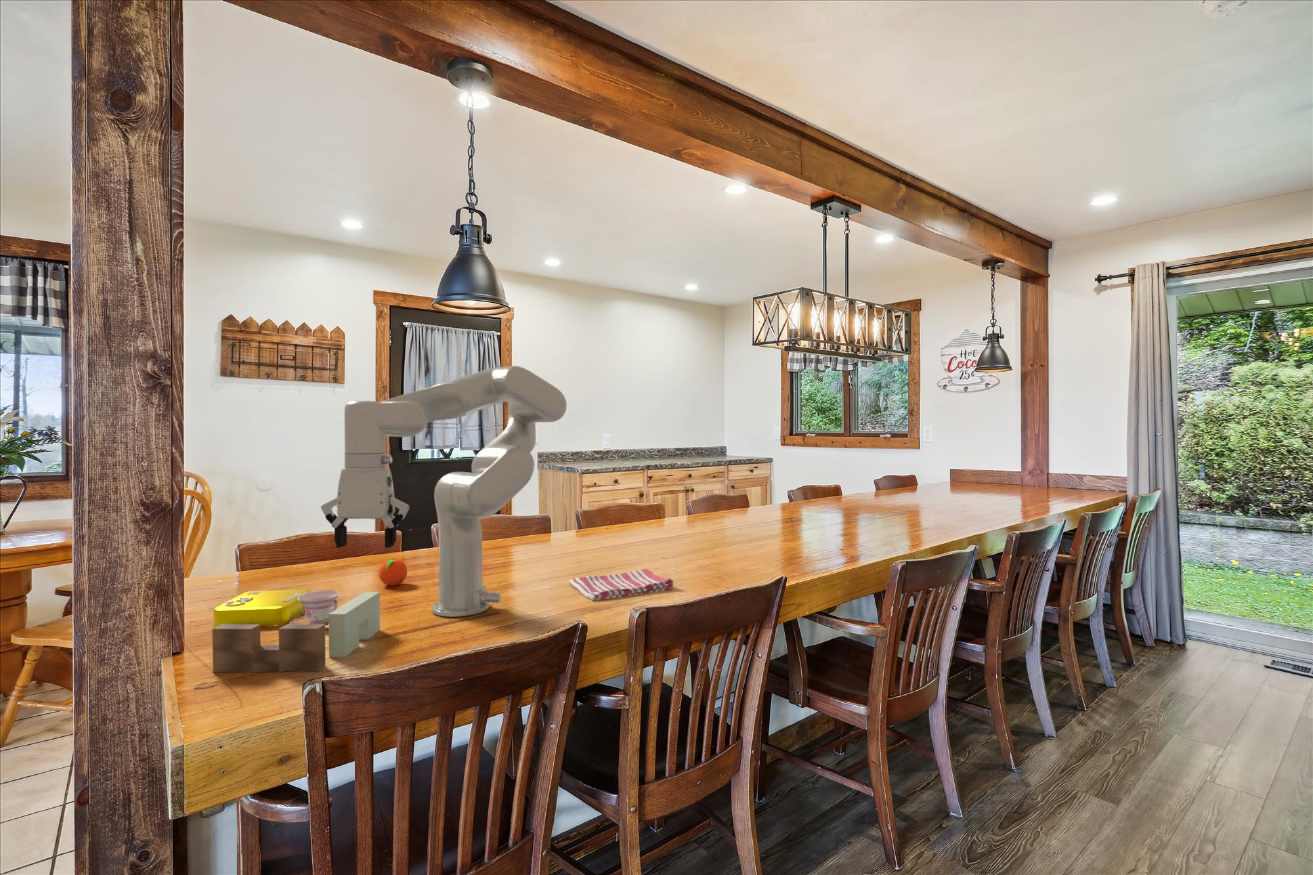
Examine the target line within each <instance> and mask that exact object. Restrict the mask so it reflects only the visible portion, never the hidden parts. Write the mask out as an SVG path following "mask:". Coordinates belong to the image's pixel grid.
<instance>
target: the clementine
mask: <svg viewBox="0 0 1313 875" xmlns="http://www.w3.org/2000/svg"><path fill="white" fill-rule="evenodd" d="M407 575H408V567H407V565H406V564H405V563H404V562H403V561H402V560H400V559H399V558H398V559H397V558H391V559H387V560H386V561H384V563H382V564H381V566H380V568H379V571H378V576H379V577H378V578H379V579H380V581H381V582H382V583H383V584H384V585H386V586H390V587H394V586H399V585H400V584H401V583H403V582H404V581H405V579H406V578H407Z"/></svg>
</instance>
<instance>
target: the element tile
mask: <svg viewBox="0 0 1313 875" xmlns="http://www.w3.org/2000/svg"><path fill="white" fill-rule="evenodd" d="M311 591H312V590H310V589H280V590H279V589H277V590H276V589H275V590H272V589H271V590H249V591H246V592H245V591H244V592H243V593H241V594H239V595H238V596H235V597H233V598H232V599H231V598H230V599H229V600H227V601H226V602H223V603H222V604H220V605H218V606H216V607H215V608H213V610H212V611H213V613H212V617H213V619H212V620H213V628H215V627H217V626H220V625H222V624H260V628H261V627H262V626H269V627H275V626H274V625H282V626H284V625H283V624H287V623H289V622H291V621H292V620H294V619H295V618H296V619H297V617H298V616H299V617H301V616H302V615H303V614H304V613H303V612H305V609H304V608H303V606H302V605H303V604H302V603H300V602H299V600H298V598H297V597H298V595H300V594H302V593H306V592H311ZM302 613H303V614H302ZM301 614H302V615H301ZM300 615H301V616H300ZM299 617H298V618H299ZM262 628H263V627H262Z"/></svg>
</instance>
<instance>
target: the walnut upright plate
mask: <svg viewBox="0 0 1313 875" xmlns="http://www.w3.org/2000/svg"><path fill="white" fill-rule="evenodd" d="M325 625H326V623H325V624H309V623H308V624H286V625H282V626H281V627H279V628H278V644H267V645H266V644H261V627H260V624H222V625H220V626H217V627H215V628H214V627H213V628H212V631H211V632H212V634H211V635H212V673H281V672H280V671H319V672H320V671H322V668H323V669H324V668H326V629H325Z"/></svg>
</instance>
